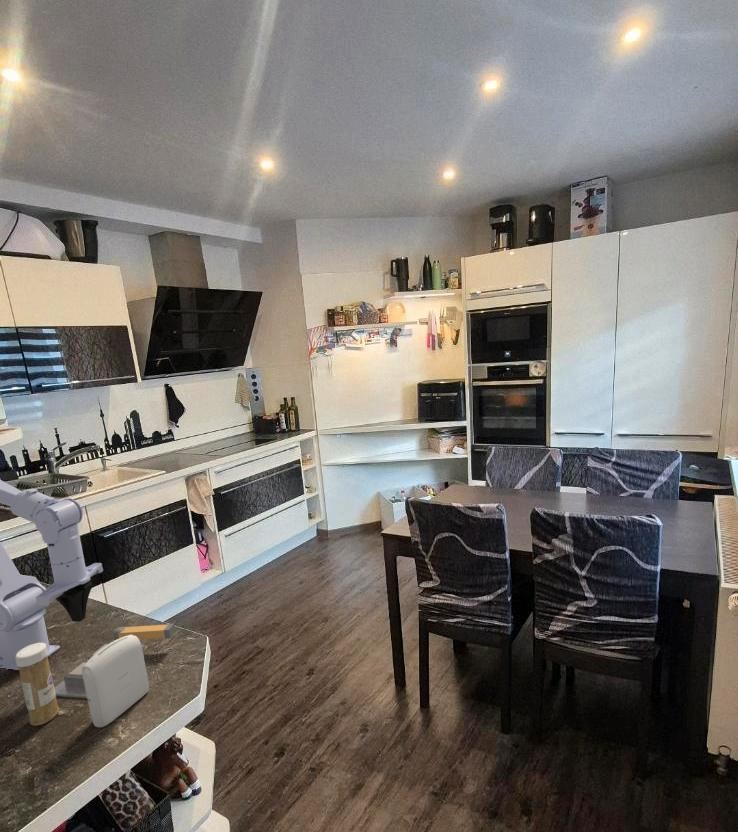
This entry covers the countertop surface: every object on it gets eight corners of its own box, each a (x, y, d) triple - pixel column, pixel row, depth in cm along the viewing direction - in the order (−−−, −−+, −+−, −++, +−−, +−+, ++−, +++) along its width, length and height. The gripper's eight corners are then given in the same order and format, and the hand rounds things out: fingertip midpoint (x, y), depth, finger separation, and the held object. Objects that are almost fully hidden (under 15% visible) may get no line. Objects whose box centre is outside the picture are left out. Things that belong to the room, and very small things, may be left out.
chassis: (48, 695, 89) (45, 681, 89) (108, 645, 104) (106, 633, 104) (89, 698, 87) (86, 684, 87) (144, 647, 102) (142, 635, 102)
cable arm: (111, 641, 100) (110, 633, 100) (118, 635, 103) (116, 627, 103) (170, 638, 100) (169, 629, 99) (175, 631, 102) (174, 623, 102)
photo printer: (103, 731, 79) (90, 665, 77) (87, 724, 81) (74, 660, 79) (153, 690, 88) (143, 630, 86) (139, 685, 90) (128, 626, 88)
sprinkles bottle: (59, 718, 83) (45, 649, 81) (28, 731, 80) (13, 661, 79) (59, 703, 87) (46, 638, 85) (30, 715, 84) (16, 648, 83)
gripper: (52, 575, 87) (65, 641, 89) (109, 544, 101) (120, 601, 103) (22, 575, 89) (36, 640, 90) (83, 544, 103) (93, 601, 104)
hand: (78, 619), depth 97 cm, fingers closed
